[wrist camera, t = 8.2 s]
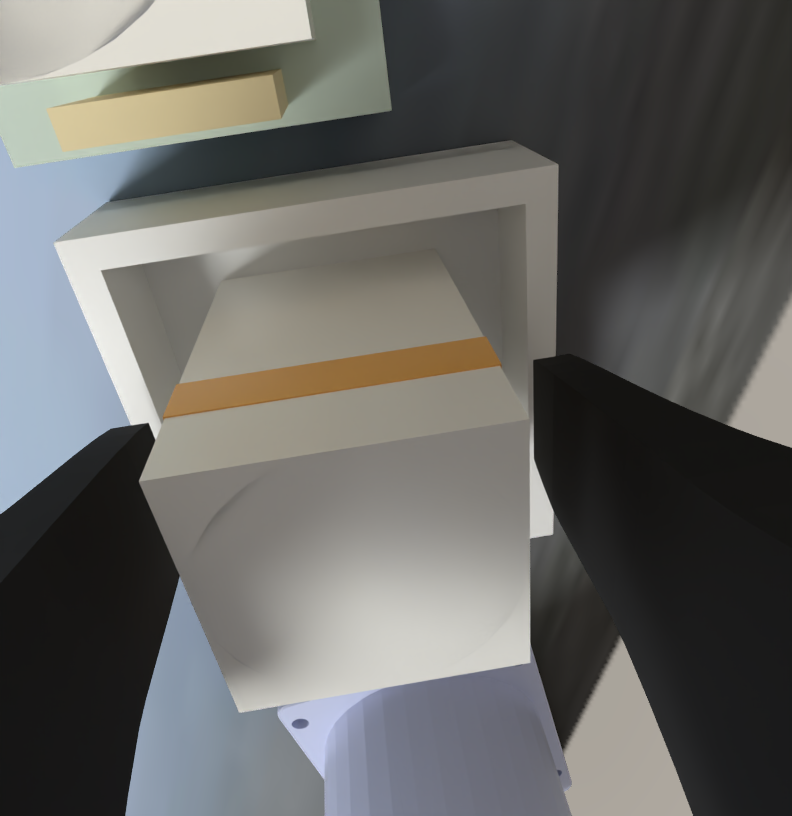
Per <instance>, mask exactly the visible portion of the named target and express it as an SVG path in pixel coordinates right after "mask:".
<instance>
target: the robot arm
mask: <svg viewBox="0 0 792 816" xmlns="http://www.w3.org/2000/svg"><path fill="white" fill-rule="evenodd" d="M533 414H534V461H535V464H536V467H537V469H538V472H539V475H540V478H541V480H542V483H543V486H544V489H545V491H546V494H547V496H548V499H549V501H550V504H551V506H552V509H553V511H554V512H555V514H556V516H557V518H558V520H559V522H560V524H561V526H562V528H563V529H564V531H565V533H566V535H567V537H568V539H569V541H570V542H571V544H572V546H573V548H574V550H575V552H576V553H577V555H578V557H579V559H580V561H581V562H582V564H583V566H584V568H585V570H586V572H587V573H588V575H589V577H590V579H591V581H592V583H593V584H594V586H595V588H596V590H597V592H598V593H599V595H600V597H601V599H602V601H603V603H604V604H605V606H606V608H607V610H608V612H609V613H610V615H611V617H612V619H613V621H614V623H615V625H616V627H617V629H618V631H619V633H620V635H621V637H622V639H623V642H624V644H625V646H626V648H627V651H628V653H629V655H630V658H631V660H632V663H633V665H634V667H635V670H636V672H637V674H638V677H639V679H640V681H641V684H642V686H643V689H644V691H645V694H646V696H647V698H648V701H649V703H650V706H651V708H652V711H653V713H654V715H655V718H656V721H657V723H658V726H659V728H660V731H661V733H662V736H663V738H664V741H665V743H666V746H667V748H668V751H669V753H670V756H671V758H672V761H673V763H674V766H675V768H676V771H677V774H678V776H679V779H680V782H681V784H682V787H683V790H684V792H685V795H686V798H687V800H688V802H689V805H690V808H691V811H692V814H693V816H792V448H790V447H787V446H784V445H781V444H778V443H775V442H772V441H769V440H766V439H763V438H760V437H757V436H754V435H752V434H749V433H746V432H743V431H741V430H738V429H735V428H733V427H730V426H728V425H725V424H723V423H721V422H718V421H716V420H713V419H711V418H708V417H706V416H703V415H701V414H698V413H696V412H694V411H691V410H689V409H687V408H685V407H682V406H680V405H678V404H676V403H673V402H671V401H669V400H667V399H665V398H662V397H660V396H658V395H656V394H654V393H652V392H650V391H648V390H645V389H643V388H641V387H639V386H637V385H635V384H633V383H631V382H629V381H627V380H625V379H623V378H621V377H619V376H617V375H615V374H613V373H611V372H609V371H607V370H605V369H603V368H601V367H598V366H596V365H594V364H592V363H590V362H588V361H586V360H583V359H581V358H579V357H576V356H574V355H571V354H566V355H560V356H554V357H548V358H542V359H535V360H533ZM155 441H156V440H155V437H154V435H153V432H152V430H151V428H150V425H149V423H143V424H137V425H131V426H125V427H119V428H113V429H110V430H108V431H107V432H105V433H104V434H102V435H101V436H99V437H98V438H96V439H95V440H94V441H92V442H91V443H90V444H88V445H87V446H86V447H84V448H83V449H82V450H80V451H79V452H78V453H77V454H75V455H74V456H73V457H72V458H70V459H69V460H68V461H67V462H65V463H64V464H63V465H62V466H60V467H59V468H58V469H57V470H56V471H54V472H53V473H52V474H51V475H49V476H48V477H47V478H46V479H44V480H43V481H42V482H41V483H39V484H38V485H37V486H36V487H34V488H33V489H32V490H31V491H30V492H28V493H27V494H26V495H25V496H23V497H22V498H21V499H20V500H18V501H17V502H16V503H15V504H13V505H12V506H11V507H10V508H8V509H7V510H6V511H4V512H3V513H2V514H0V816H125V813H126V806H127V798H128V792H129V786H130V780H131V774H132V768H133V762H134V756H135V750H136V744H137V738H138V732H139V727H140V722H141V718H142V714H143V709H144V705H145V701H146V697H147V693H148V690H149V686H150V682H151V679H152V675H153V672H154V668H155V664H156V661H157V657H158V654H159V650H160V646H161V643H162V639H163V636H164V632H165V628H166V625H167V621H168V618H169V614H170V610H171V606H172V603H173V599H174V595H175V591H176V588H177V584H178V580H179V576H180V575H179V573H178V571H177V568H176V566H175V564H174V561H173V559H172V557H171V555H170V552H169V550H168V548H167V545H166V543H165V541H164V538H163V536H162V534H161V532H160V529H159V527H158V525H157V522H156V520H155V518H154V516H153V513H152V511H151V509H150V506H149V504H148V502H147V499H146V497H145V495H144V493H143V490H142V488H141V486H140V483H139V480H140V477H141V475H142V472H143V470H144V467H145V465H146V463H147V460H148V458H149V455H150V453H151V450H152V448H153V446H154V443H155ZM278 717H279V719H280V720H281V722H282V723H283V724H284V726H285V727H286V728H287V730H288V731H289V732H290V734H291V735H292V737H293V738H294V739H295V741H296V742H297V743H298V745H299V746H300V747H301V749H302V750H303V751H304V753H305V754H306V756H307V757H308V758H309V760H310V761H311V762H312V764H313V765H314V766H315V768H316V769H317V770H318V772H319V773H320V774H321V776H322V777H323V779H324V780H325V816H572V815H571V812H570V809H569V806H568V803H567V800H566V797H565V793H564V791H566V790H568V789H569V788H570V787H571V785H572V781H571V778H570V775H569V771H568V768H567V765H566V761H565V758H564V754H563V751H562V748H561V744H560V741H559V738H558V734H557V731H556V728H555V724H554V721H553V718H552V714H551V711H550V708H549V704H548V701H547V697H546V694H545V691H544V687H543V684H542V681H541V677H540V674H539V671H538V667H537V664H536V661H535V657H534V654H533V651H532V647H531V644H530V663H526V664H521V665H515V666H509V667H503V668H497V669H491V670H486V671H480V672H474V673H468V674H462V675H456V676H451V677H445V678H439V679H433V680H427V681H422V682H416V683H410V684H404V685H398V686H392V687H387V688H381V689H375V690H369V691H363V692H358V693H352V694H346V695H340V696H334V697H328V698H323V699H317V700H311V701H305V702H299V703H293V704H288V705H282V706H278Z"/></svg>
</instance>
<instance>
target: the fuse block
mask: <svg viewBox="0 0 792 816" xmlns="http://www.w3.org/2000/svg"><path fill="white" fill-rule="evenodd" d="M310 5H311V11H312V17H313V23H314V29H315V35H316V40H312V41H305V42H298V43H291V44H285V45H278V46H271V47H264V48H258V49H251V50H244V51H237V52H231V53H224V54H217V55H210V56H204V57H197V58H190V59H183V60H177V61H170V62H163V63H156V64H150V65H143V66H136V67H129V68H123V69H116V70H109V71H102V72H96V73H89V74H82V75H75V76H69V77H62V78H55V79H48V80H41V81H34V82H27V83H20V84H13V85H6V86H0V136H1V138H2V140H3V142H4V145H5V147H6V149H7V152H8V154H9V156H10V159H11V161H12V163H13V166H14V168H17V167H24V166H31V165H37V164H44V163H50V162H57V161H64V160H70V159H77V158H83V157H90V156H97V155H103V154H110V153H116V152H123V151H130V150H136V149H143V148H149V147H156V146H163V145H169V144H176V143H182V142H189V141H195V140H202V139H209V138H215V137H222V136H228V135H235V134H242V133H248V132H255V131H261V130H268V129H275V128H281V127H288V126H294V125H301V124H308V123H314V122H321V121H327V120H334V119H341V118H347V117H354V116H360V115H367V114H374V113H380V112H387V111H392V107H391V99H390V90H389V82H388V73H387V65H386V56H385V47H384V39H383V30H382V22H381V13H380V5H379V0H310Z"/></svg>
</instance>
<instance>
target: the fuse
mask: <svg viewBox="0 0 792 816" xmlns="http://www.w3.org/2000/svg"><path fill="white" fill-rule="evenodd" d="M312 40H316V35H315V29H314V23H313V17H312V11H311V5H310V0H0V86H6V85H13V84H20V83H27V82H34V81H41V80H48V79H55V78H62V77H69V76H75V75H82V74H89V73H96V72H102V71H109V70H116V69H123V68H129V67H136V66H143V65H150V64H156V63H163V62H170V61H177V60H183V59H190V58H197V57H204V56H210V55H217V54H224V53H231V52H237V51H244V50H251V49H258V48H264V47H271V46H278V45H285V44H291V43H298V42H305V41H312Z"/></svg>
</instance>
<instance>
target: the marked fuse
mask: <svg viewBox="0 0 792 816" xmlns="http://www.w3.org/2000/svg"><path fill="white" fill-rule="evenodd" d="M163 420H164V421H163V424H162V426H161V429H160V431H159V433H158V436H157V438H156V441H155V443H154V446H153V448H152V450H151V453H150V455H149V458H148V460H147V463H146V465H145V467H144V470H143V472H142V475H141V477H140V480H139V483H140V486H141V488H142V490H143V493H144V495H145V497H146V499H147V502H148V504H149V506H150V509H151V511H152V513H153V516H154V518H155V520H156V522H157V525H158V527H159V529H160V532H161V534H162V536H163V538H164V541H165V543H166V545H167V548H168V550H169V552H170V555H171V557H172V559H173V561H174V564H175V566H176V568H177V571H178V573H179V575H180V577H181V580H182V582H183V584H184V587H185V589H186V591H187V594H188V596H189V598H190V600H191V603H192V605H193V607H194V610H195V612H196V614H197V616H198V619H199V621H200V623H201V626H202V628H203V630H204V633H205V635H206V637H207V639H208V642H209V644H210V646H211V649H212V651H213V653H214V655H215V658H216V660H217V662H218V665H219V667H220V669H221V672H222V674H223V676H224V678H225V681H226V683H227V685H228V688H229V690H230V692H231V694H232V697H233V699H234V701H235V704H236V706H237V708H238V711H239V713H241V712H247V711H253V710H259V709H264V708H270V707H276V706H282V705H288V704H293V703H299V702H305V701H311V700H317V699H323V698H328V697H334V696H340V695H346V694H352V693H358V692H363V691H369V690H375V689H381V688H387V687H392V686H398V685H404V684H410V683H416V682H422V681H427V680H433V679H439V678H445V677H451V676H456V675H462V674H468V673H474V672H480V671H486V670H491V669H497V668H503V667H509V666H515V665H521V664H526V663H530V419H529V417H528V415H527V414H526V412H525V410H524V408H523V406H522V405H521V403H520V401H519V399H518V397H517V396H516V394H515V392H514V390H513V388H512V387H511V385H510V383H509V381H508V379H507V378H506V376H505V374H504V372H503V370H502V364H501V362H500V360H499V359H498V357H497V355H496V353H495V351H494V350H493V348H492V346H491V344H490V343H489V341H488V339H487V337H486V336H483V334H482V332H481V331H480V329H479V327H478V325H477V323H476V322H475V320H474V318H473V316H472V314H471V313H470V311H469V309H468V307H467V305H466V304H465V302H464V300H463V298H462V296H461V295H460V293H459V291H458V289H457V287H456V285H455V284H454V282H453V280H452V278H451V276H450V275H449V273H448V271H447V269H446V267H445V266H444V264H443V262H442V260H441V258H440V257H439V255H438V253H437V251H436V249H428V250H422V251H415V252H408V253H402V254H395V255H389V256H382V257H375V258H369V259H362V260H355V261H349V262H342V263H335V264H329V265H322V266H316V267H309V268H302V269H296V270H289V271H282V272H276V273H269V274H262V275H256V276H249V277H243V278H236V279H229V280H223V281H221V283H220V285H219V287H218V290H217V292H216V295H215V297H214V300H213V302H212V304H211V307H210V309H209V312H208V314H207V317H206V319H205V321H204V324H203V326H202V329H201V331H200V334H199V336H198V338H197V341H196V343H195V346H194V348H193V351H192V353H191V356H190V358H189V360H188V363H187V365H186V368H185V370H184V373H183V375H182V377H181V380H180V382H179V384H176V386H175V388H174V391H173V393H172V396H171V398H170V400H169V403H168V405H167V407H166V410H165V412H164V415H163Z"/></svg>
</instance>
